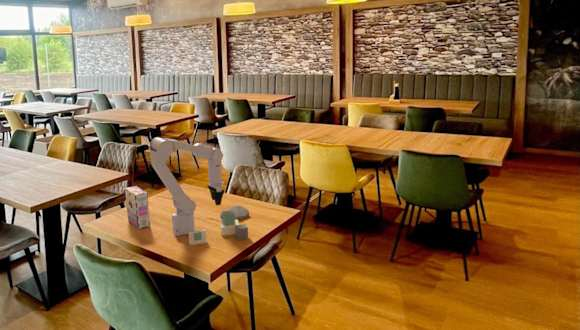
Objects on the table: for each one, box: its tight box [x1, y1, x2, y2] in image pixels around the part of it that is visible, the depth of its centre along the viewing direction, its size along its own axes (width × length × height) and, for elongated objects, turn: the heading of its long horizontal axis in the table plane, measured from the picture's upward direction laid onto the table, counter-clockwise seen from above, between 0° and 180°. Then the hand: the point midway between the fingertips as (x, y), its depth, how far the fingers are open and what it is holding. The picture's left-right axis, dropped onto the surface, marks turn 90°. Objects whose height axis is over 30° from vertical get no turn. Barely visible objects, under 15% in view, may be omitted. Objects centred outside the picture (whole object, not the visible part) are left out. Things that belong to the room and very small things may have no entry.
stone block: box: [220, 204, 250, 221], centre depth 224 cm, size 12×5×10 cm
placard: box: [188, 229, 208, 246], centre depth 195 cm, size 7×3×5 cm, turn 111°
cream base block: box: [219, 220, 240, 237], centre depth 207 cm, size 8×8×4 cm
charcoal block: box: [234, 223, 249, 241], centre depth 200 cm, size 4×4×5 cm
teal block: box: [221, 210, 235, 226], centre depth 206 cm, size 4×4×5 cm
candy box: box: [124, 185, 151, 230], centre depth 214 cm, size 14×6×16 cm, turn 37°
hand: (216, 202), depth 215 cm, fingers open, 7 cm apart
